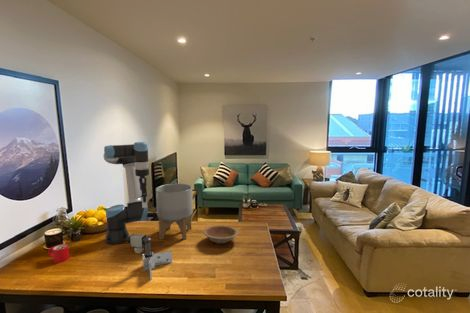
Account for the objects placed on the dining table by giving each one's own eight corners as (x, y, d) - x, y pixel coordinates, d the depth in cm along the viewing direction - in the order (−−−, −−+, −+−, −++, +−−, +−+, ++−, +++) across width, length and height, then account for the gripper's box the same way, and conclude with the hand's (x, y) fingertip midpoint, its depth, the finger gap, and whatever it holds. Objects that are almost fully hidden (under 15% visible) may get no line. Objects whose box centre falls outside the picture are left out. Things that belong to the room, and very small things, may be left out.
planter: (181, 223, 207) (180, 181, 201) (200, 234, 188) (199, 188, 183) (152, 233, 190) (149, 187, 185) (168, 245, 172) (166, 195, 167)
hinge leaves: (143, 265, 149) (142, 253, 147) (171, 259, 155) (170, 248, 154) (145, 281, 134) (144, 268, 133) (176, 274, 140) (175, 262, 139)
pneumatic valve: (145, 254, 160) (144, 236, 158) (128, 253, 162) (127, 234, 160) (150, 250, 165) (149, 232, 163) (133, 248, 168) (132, 231, 166)
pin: (144, 265, 148) (143, 237, 146) (152, 264, 150) (150, 236, 147) (145, 269, 144) (143, 240, 142) (152, 268, 146) (151, 239, 143)
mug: (53, 255, 160) (52, 243, 159) (72, 256, 159) (71, 243, 158) (43, 262, 152) (42, 249, 151) (63, 263, 151) (61, 250, 150)
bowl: (245, 243, 174) (245, 232, 173) (214, 253, 161) (214, 241, 160) (226, 230, 194) (226, 220, 192) (197, 239, 180) (197, 228, 179)
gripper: (134, 165, 162) (136, 198, 165) (136, 173, 139) (138, 211, 142) (147, 164, 165) (148, 197, 168) (150, 172, 142) (152, 209, 145)
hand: (144, 203), depth 155 cm, fingers open, 13 cm apart
